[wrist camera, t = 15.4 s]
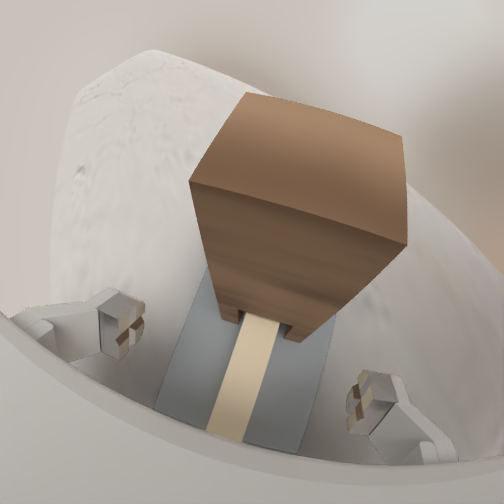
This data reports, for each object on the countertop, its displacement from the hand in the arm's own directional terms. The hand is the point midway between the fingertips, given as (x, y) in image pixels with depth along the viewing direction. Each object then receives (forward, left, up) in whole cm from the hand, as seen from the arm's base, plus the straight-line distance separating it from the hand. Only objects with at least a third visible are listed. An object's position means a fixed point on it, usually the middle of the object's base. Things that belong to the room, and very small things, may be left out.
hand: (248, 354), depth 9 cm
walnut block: (-2, -5, -9) cm, 11 cm away
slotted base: (-2, -5, -11) cm, 12 cm away
